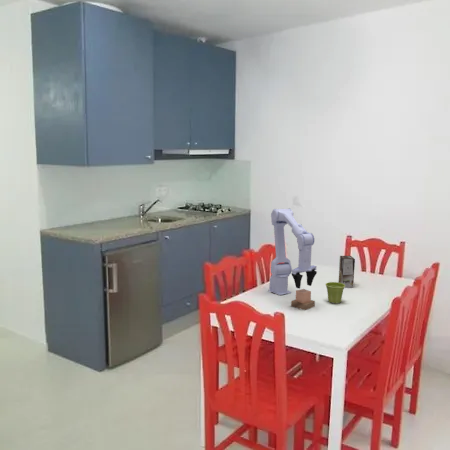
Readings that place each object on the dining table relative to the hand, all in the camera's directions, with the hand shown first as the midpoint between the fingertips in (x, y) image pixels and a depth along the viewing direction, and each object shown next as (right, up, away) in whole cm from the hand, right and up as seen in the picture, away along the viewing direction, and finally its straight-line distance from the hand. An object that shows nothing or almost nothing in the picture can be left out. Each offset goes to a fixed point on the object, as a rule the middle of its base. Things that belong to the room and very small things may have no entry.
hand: (303, 286), depth 218 cm
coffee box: (+30, -5, +37) cm, 47 cm away
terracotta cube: (0, -7, +1) cm, 7 cm away
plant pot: (+17, -9, +9) cm, 21 cm away
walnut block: (0, -10, +2) cm, 10 cm away
